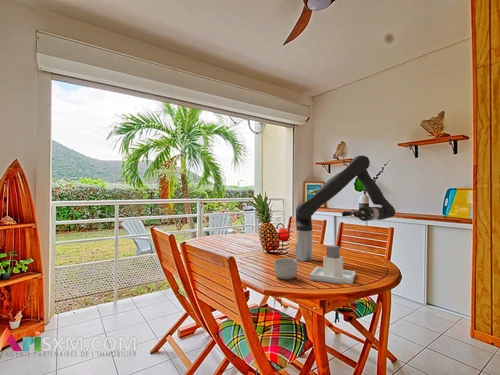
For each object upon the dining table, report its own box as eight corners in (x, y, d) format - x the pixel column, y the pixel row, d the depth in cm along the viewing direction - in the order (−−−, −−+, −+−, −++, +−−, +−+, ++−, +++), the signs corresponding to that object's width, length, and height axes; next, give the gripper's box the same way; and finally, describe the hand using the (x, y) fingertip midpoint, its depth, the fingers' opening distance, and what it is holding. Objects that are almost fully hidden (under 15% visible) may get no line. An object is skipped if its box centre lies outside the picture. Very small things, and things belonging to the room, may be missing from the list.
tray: (310, 279, 123) (309, 274, 123) (316, 271, 135) (316, 266, 136) (352, 285, 115) (352, 279, 115) (355, 276, 128) (355, 271, 128)
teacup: (291, 282, 119) (291, 264, 119) (269, 278, 125) (269, 261, 125) (303, 274, 131) (303, 258, 131) (282, 271, 136) (282, 255, 137)
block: (333, 276, 123) (333, 247, 123) (326, 274, 126) (326, 246, 126) (339, 275, 125) (339, 246, 125) (332, 272, 128) (332, 245, 128)
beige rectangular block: (334, 279, 121) (334, 259, 121) (323, 275, 126) (323, 256, 126) (343, 276, 125) (343, 257, 125) (332, 273, 130) (332, 254, 130)
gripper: (356, 206, 154) (338, 207, 145) (380, 207, 142) (362, 208, 133) (356, 219, 154) (338, 221, 145) (380, 221, 142) (362, 223, 133)
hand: (349, 215), depth 139 cm, fingers open, 8 cm apart
